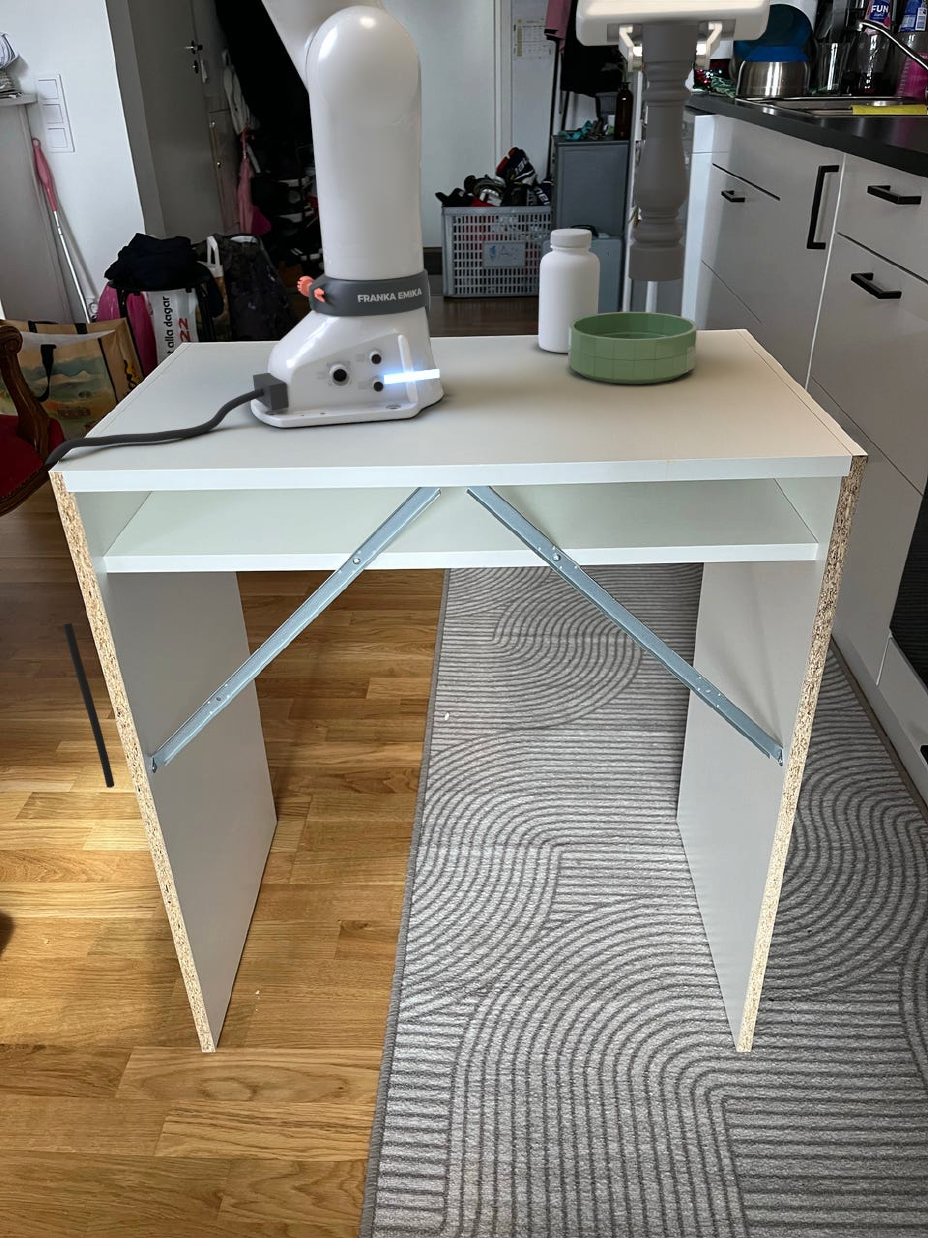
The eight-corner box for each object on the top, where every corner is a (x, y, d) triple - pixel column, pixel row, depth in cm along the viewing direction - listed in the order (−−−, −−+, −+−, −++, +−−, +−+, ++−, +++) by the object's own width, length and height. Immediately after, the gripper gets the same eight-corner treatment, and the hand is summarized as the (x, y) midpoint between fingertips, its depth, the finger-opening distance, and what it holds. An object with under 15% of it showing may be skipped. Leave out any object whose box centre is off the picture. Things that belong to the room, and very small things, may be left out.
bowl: (604, 392, 115) (606, 345, 112) (548, 362, 127) (548, 319, 125) (718, 376, 119) (722, 330, 117) (653, 349, 132) (655, 307, 129)
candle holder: (681, 281, 111) (701, 23, 98) (626, 281, 112) (639, 26, 100) (682, 271, 116) (701, 25, 104) (629, 271, 117) (642, 28, 105)
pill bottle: (599, 353, 131) (604, 234, 123) (539, 355, 131) (541, 236, 124) (593, 339, 138) (598, 225, 130) (536, 341, 138) (537, 227, 131)
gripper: (577, -59, 105) (569, 44, 101) (773, -70, 102) (772, 36, 98) (578, -7, 111) (570, 92, 107) (763, -16, 108) (762, 86, 104)
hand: (668, 65), depth 103 cm, fingers closed on candle holder, 5 cm apart
